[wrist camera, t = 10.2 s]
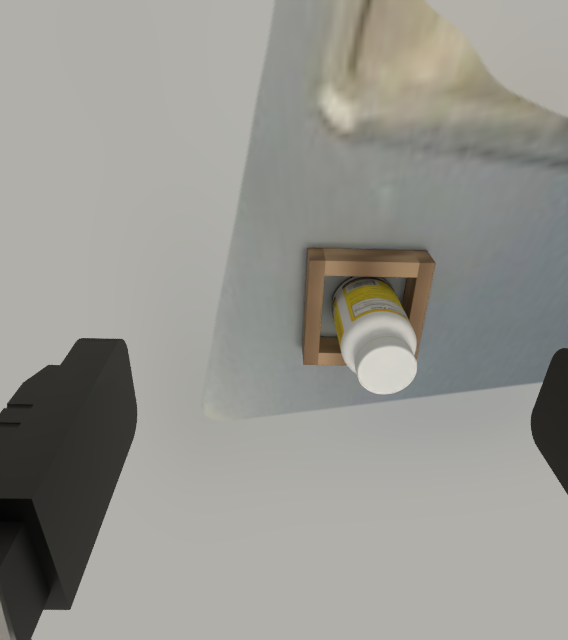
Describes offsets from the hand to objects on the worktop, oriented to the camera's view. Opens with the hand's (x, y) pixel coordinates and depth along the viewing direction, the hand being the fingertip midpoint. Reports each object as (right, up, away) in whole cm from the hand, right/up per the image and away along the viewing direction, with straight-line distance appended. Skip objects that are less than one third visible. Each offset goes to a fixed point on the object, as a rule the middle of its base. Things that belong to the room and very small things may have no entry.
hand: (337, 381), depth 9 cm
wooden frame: (+5, +3, +31) cm, 32 cm away
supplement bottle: (+6, +3, +31) cm, 32 cm away
